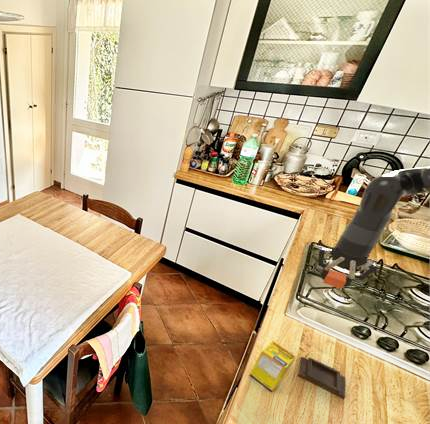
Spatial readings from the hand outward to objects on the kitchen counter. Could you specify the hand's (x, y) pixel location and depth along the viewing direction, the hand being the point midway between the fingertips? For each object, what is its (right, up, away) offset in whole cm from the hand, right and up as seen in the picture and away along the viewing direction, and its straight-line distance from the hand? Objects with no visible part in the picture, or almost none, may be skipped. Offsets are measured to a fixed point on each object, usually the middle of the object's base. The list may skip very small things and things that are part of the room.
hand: (332, 281), depth 97 cm
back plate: (-15, -24, -12) cm, 31 cm away
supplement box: (-30, -24, -12) cm, 41 cm away
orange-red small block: (0, 0, 0) cm, 0 cm away
